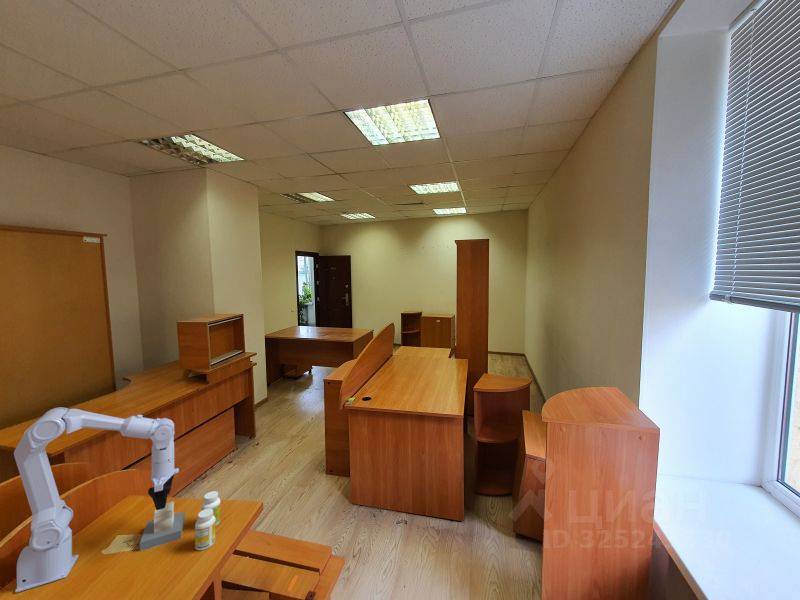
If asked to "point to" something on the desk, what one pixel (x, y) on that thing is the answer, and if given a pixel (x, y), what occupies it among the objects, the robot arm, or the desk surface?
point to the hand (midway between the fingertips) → (163, 501)
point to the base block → (162, 533)
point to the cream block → (164, 518)
